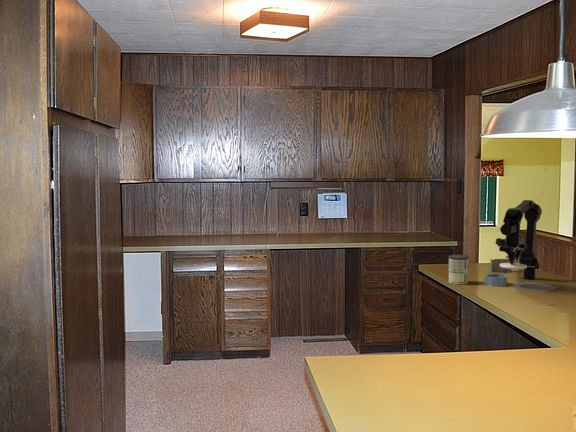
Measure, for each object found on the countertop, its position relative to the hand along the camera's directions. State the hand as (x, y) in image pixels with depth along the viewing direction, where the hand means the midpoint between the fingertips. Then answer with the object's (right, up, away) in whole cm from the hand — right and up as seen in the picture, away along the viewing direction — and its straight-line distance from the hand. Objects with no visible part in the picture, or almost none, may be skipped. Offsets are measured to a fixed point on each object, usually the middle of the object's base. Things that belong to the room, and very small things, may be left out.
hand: (513, 263), depth 302 cm
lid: (0, -2, 0) cm, 2 cm away
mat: (+9, -12, -3) cm, 15 cm away
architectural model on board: (+8, -8, +41) cm, 42 cm away
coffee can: (-24, -11, +13) cm, 30 cm away
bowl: (-7, -11, +5) cm, 14 cm away
